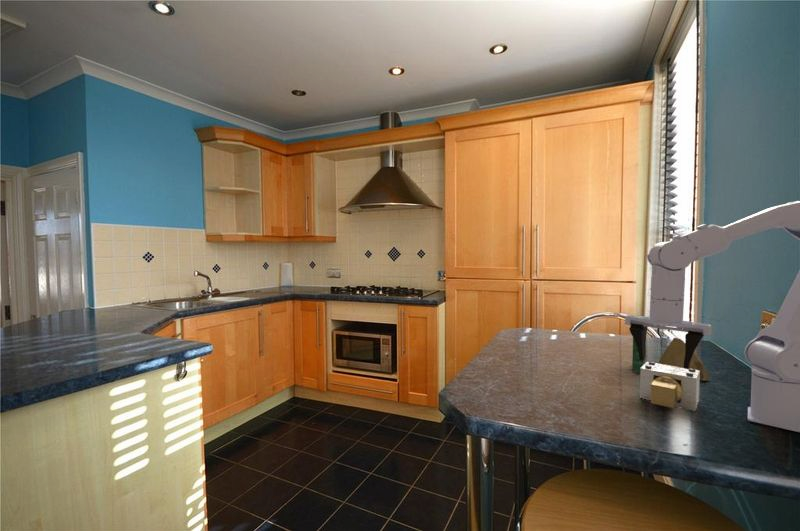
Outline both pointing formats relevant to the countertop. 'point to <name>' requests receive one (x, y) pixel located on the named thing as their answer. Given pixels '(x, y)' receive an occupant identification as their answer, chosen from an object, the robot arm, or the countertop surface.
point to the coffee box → (636, 359)
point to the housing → (686, 376)
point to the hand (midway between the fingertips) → (663, 363)
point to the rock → (682, 358)
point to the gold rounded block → (666, 391)
